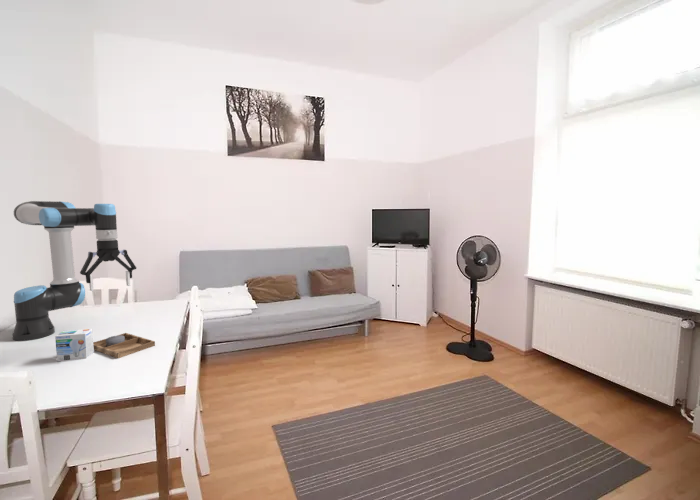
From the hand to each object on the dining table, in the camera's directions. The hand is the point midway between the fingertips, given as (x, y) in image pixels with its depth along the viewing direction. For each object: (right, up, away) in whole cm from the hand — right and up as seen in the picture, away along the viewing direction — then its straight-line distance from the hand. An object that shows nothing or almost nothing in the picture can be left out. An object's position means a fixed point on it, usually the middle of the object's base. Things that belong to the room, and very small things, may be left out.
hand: (110, 288), depth 152 cm
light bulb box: (-8, -28, -8) cm, 30 cm away
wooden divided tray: (+4, -27, +2) cm, 27 cm away
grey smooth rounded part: (-1, -26, +4) cm, 26 cm away
